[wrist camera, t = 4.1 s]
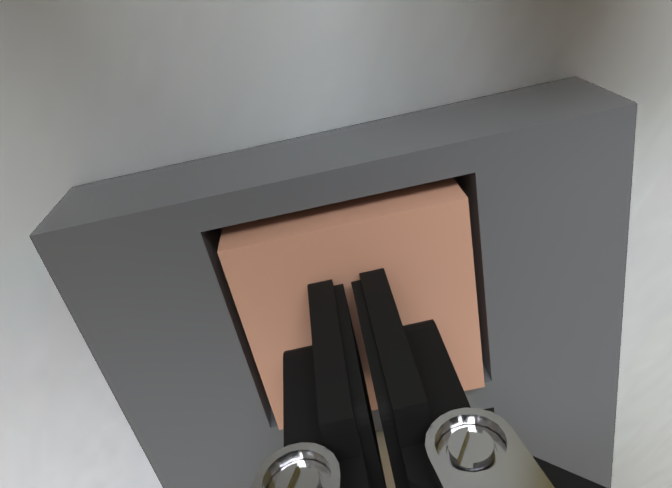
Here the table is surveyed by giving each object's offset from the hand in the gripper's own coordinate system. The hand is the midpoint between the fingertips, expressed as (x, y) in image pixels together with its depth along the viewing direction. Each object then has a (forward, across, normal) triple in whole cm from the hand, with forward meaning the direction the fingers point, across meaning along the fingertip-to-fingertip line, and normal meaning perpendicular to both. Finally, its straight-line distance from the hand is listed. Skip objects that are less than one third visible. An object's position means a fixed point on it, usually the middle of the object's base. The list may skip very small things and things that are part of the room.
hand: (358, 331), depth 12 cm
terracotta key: (+2, 0, 0) cm, 2 cm away
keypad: (+3, 0, +6) cm, 7 cm away
